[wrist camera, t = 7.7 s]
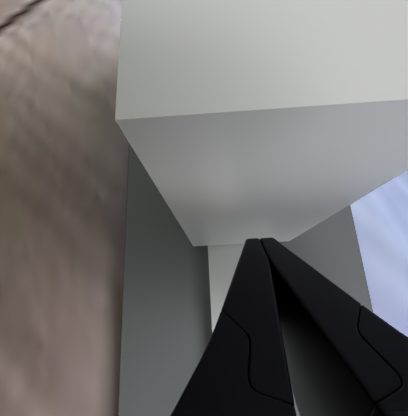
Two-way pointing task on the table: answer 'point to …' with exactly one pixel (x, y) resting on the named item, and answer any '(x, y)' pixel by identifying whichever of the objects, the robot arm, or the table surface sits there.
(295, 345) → the robot arm
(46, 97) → the table surface
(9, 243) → the table surface
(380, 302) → the table surface
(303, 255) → the din rail plate
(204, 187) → the block
